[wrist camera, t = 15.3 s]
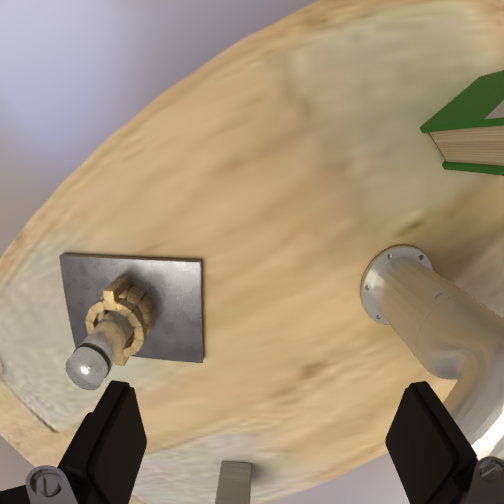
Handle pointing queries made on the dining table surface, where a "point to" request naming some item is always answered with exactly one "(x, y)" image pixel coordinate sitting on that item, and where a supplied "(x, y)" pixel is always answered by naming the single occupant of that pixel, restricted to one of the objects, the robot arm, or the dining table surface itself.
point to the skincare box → (234, 483)
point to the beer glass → (1, 367)
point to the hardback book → (472, 127)
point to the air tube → (99, 350)
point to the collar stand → (138, 302)
